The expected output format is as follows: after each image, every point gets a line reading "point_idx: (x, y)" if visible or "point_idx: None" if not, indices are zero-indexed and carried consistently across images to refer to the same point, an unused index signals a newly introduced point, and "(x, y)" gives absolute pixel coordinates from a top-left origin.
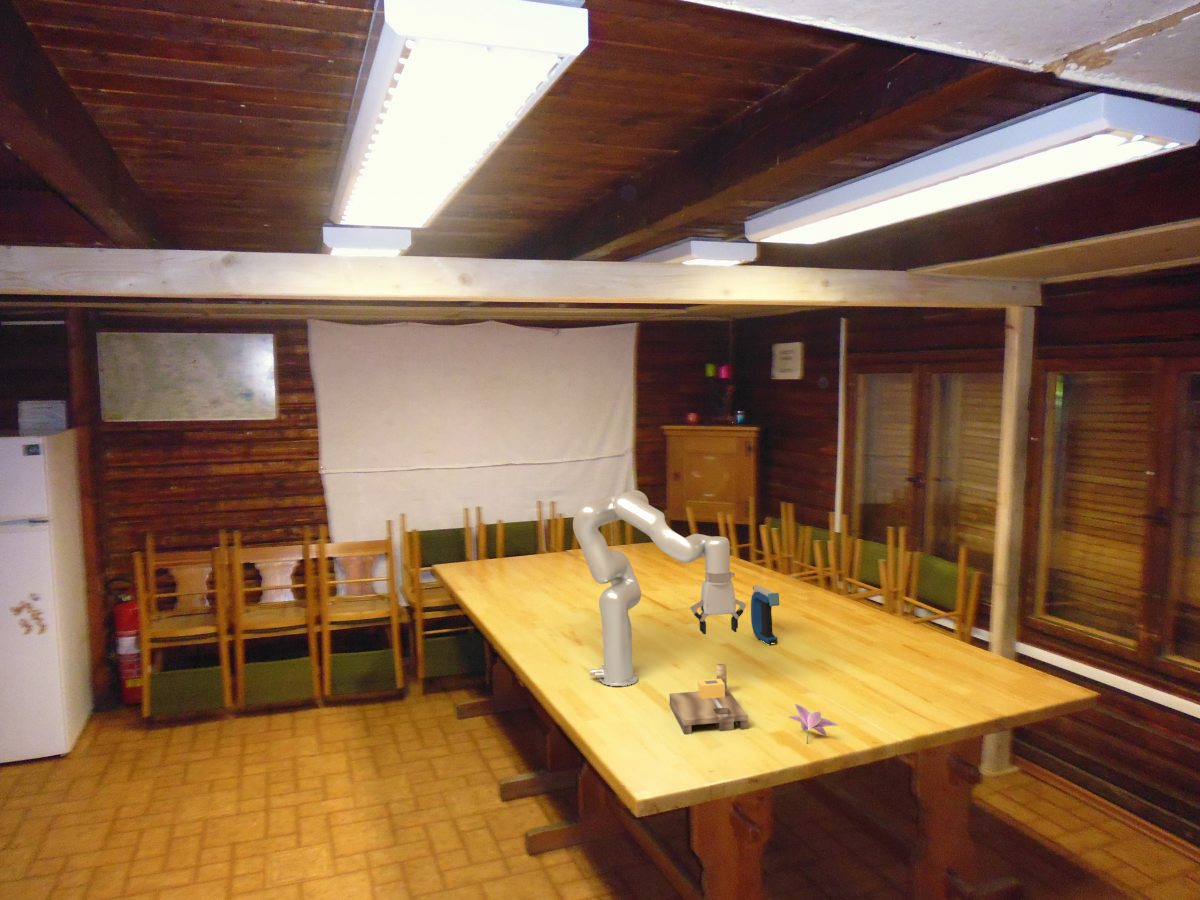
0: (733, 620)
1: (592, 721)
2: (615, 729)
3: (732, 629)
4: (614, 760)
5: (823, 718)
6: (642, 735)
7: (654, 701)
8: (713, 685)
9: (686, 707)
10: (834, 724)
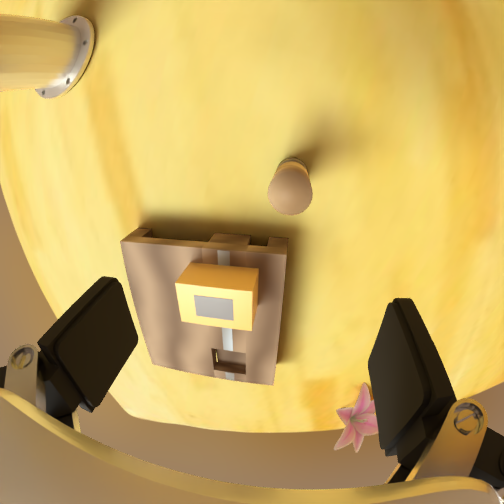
0: (387, 434)
1: (39, 255)
2: (68, 293)
3: (382, 332)
4: None
5: (368, 434)
6: None
7: (109, 189)
8: (216, 325)
9: (156, 324)
10: None
